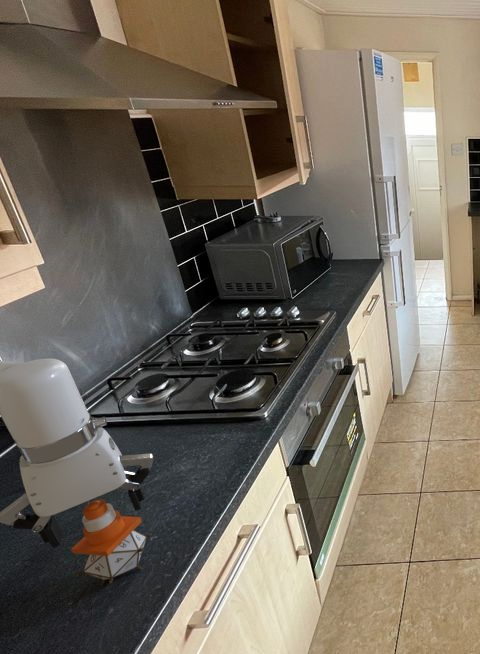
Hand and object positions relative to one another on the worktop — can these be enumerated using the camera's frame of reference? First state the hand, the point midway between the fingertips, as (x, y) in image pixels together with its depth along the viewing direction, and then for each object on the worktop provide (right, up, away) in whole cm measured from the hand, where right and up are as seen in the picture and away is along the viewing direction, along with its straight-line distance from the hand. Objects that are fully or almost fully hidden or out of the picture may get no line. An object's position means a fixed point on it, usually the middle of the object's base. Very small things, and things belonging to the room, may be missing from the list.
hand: (99, 521), depth 68 cm
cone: (0, -3, +1) cm, 4 cm away
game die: (0, -11, +4) cm, 12 cm away
